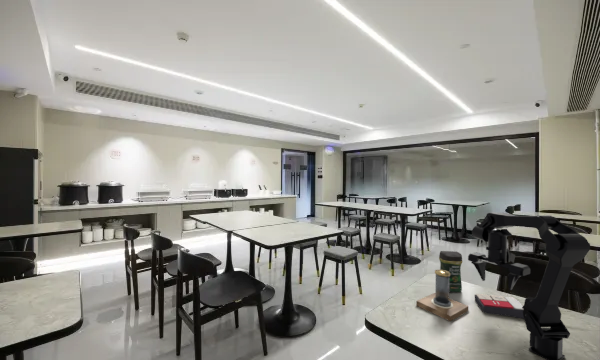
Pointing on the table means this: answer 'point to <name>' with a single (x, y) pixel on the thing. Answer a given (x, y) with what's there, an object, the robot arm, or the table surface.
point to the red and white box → (500, 305)
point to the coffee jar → (452, 268)
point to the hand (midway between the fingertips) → (496, 285)
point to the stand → (442, 308)
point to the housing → (442, 288)
